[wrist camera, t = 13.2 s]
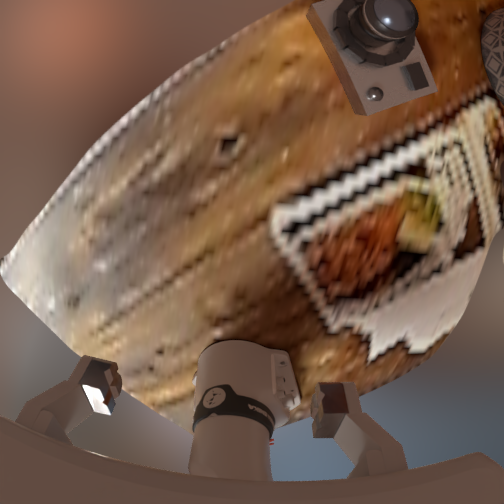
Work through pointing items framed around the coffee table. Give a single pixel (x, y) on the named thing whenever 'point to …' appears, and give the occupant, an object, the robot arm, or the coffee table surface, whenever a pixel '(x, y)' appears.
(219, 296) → the coffee table surface
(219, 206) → the coffee table surface
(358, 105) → the camera body
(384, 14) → the lens
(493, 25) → the planter
